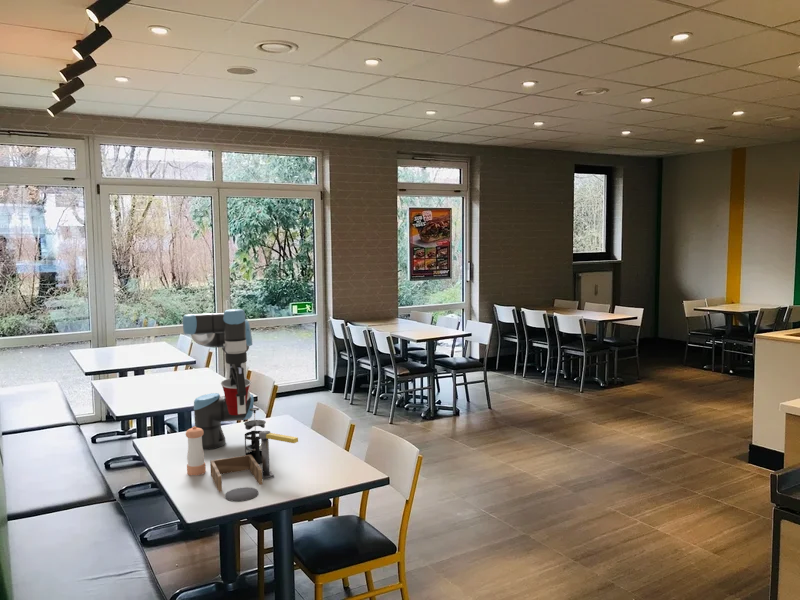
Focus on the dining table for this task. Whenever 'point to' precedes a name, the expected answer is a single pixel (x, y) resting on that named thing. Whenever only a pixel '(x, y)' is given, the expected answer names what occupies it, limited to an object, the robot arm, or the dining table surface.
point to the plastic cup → (233, 395)
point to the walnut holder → (234, 468)
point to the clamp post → (265, 460)
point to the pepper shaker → (195, 452)
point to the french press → (254, 438)
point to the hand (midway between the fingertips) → (238, 409)
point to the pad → (241, 494)
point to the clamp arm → (277, 437)
